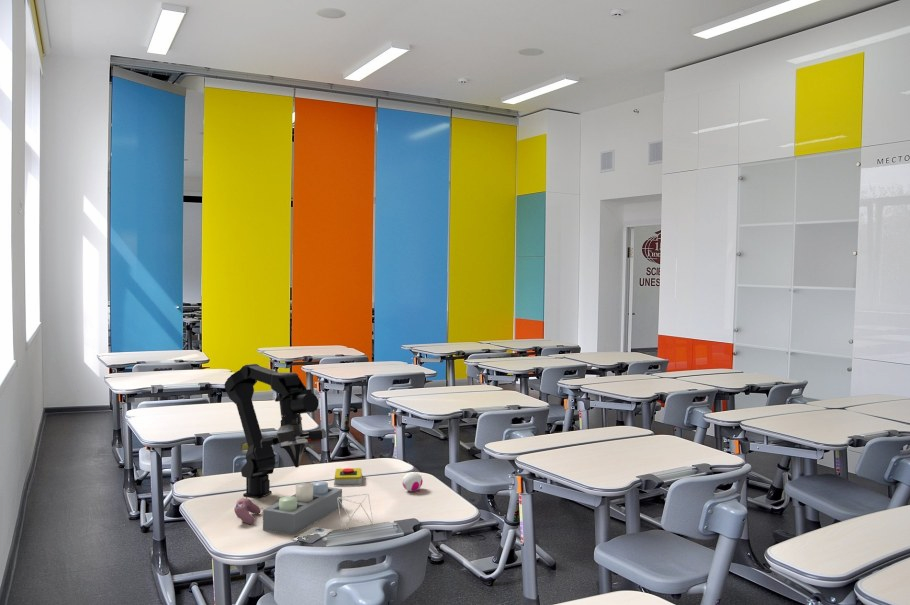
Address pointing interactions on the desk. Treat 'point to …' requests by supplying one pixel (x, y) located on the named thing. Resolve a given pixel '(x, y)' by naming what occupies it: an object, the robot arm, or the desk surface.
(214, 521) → the desk surface
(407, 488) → the stress ball
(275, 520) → the grey compartment tray
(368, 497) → the geometric polyhedron
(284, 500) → the sage button
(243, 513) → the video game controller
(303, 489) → the ivory button
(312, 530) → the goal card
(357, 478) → the emergency button
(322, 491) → the slate-blue button
